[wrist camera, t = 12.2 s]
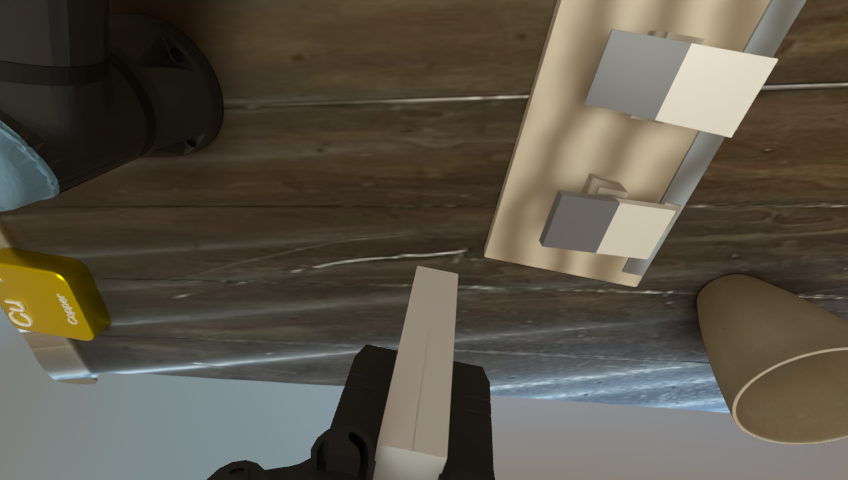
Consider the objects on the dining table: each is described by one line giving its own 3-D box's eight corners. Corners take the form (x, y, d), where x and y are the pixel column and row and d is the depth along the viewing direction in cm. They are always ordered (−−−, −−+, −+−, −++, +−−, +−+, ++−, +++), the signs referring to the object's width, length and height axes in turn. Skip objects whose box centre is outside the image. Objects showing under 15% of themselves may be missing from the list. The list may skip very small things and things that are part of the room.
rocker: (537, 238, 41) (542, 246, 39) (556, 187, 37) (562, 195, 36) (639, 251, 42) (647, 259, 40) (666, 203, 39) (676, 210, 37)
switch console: (484, 248, 50) (485, 275, 45) (579, -73, 33) (598, -90, 27) (630, 277, 50) (648, 307, 45) (807, -31, 32) (870, -39, 27)
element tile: (116, 325, 68) (93, 345, 64) (38, 312, 69) (11, 331, 65) (86, 258, 60) (58, 276, 56) (-1, 244, 61) (-35, 260, 57)
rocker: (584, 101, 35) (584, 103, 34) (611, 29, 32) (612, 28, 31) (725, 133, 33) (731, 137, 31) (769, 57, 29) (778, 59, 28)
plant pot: (643, 294, 51) (704, 394, 38) (759, 227, 45) (883, 321, 31) (700, 352, 55) (774, 462, 42) (814, 299, 49) (946, 409, 35)
